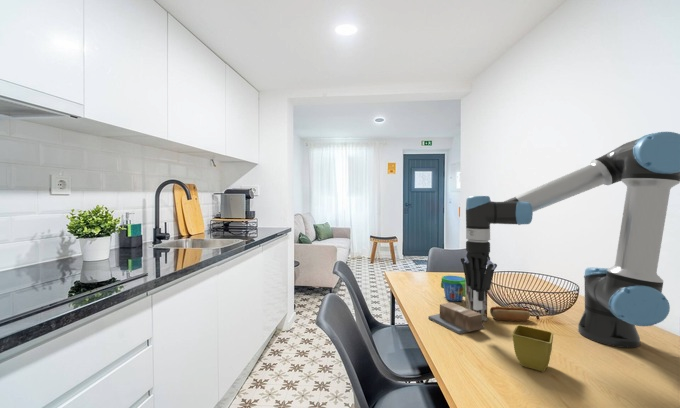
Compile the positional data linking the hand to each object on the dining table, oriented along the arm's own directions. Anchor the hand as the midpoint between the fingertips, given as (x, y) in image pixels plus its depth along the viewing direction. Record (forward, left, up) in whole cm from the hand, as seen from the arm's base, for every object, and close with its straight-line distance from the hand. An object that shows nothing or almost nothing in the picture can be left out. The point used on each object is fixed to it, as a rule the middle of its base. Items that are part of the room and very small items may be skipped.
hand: (477, 309), depth 100 cm
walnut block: (+1, 0, -5) cm, 5 cm away
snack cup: (+31, -21, -9) cm, 38 cm away
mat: (+10, 0, -9) cm, 13 cm away
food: (+4, -22, -9) cm, 24 cm away
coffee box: (+12, -13, -9) cm, 20 cm away
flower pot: (-20, +3, -9) cm, 22 cm away
